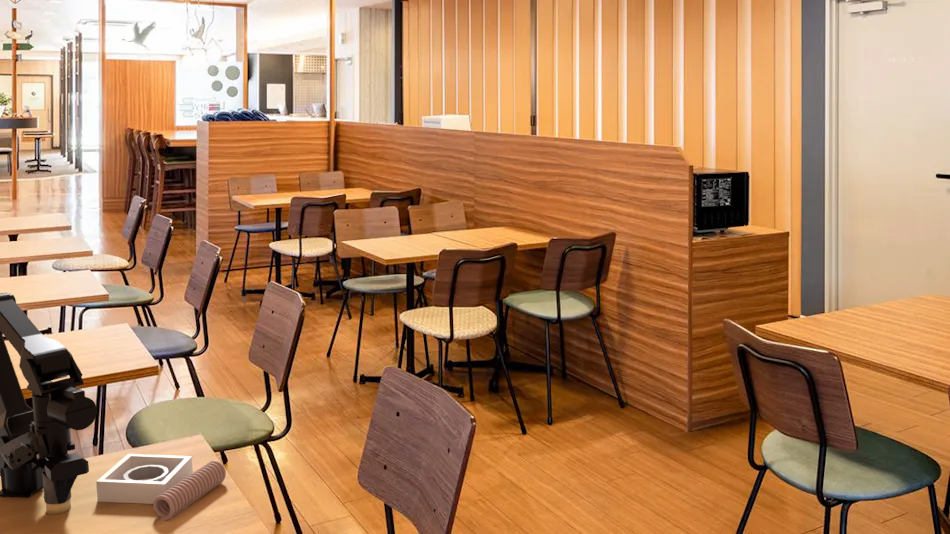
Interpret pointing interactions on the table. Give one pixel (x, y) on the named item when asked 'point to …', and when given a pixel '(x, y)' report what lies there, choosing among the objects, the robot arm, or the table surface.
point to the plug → (53, 498)
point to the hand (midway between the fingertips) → (57, 498)
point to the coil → (189, 490)
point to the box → (142, 478)
